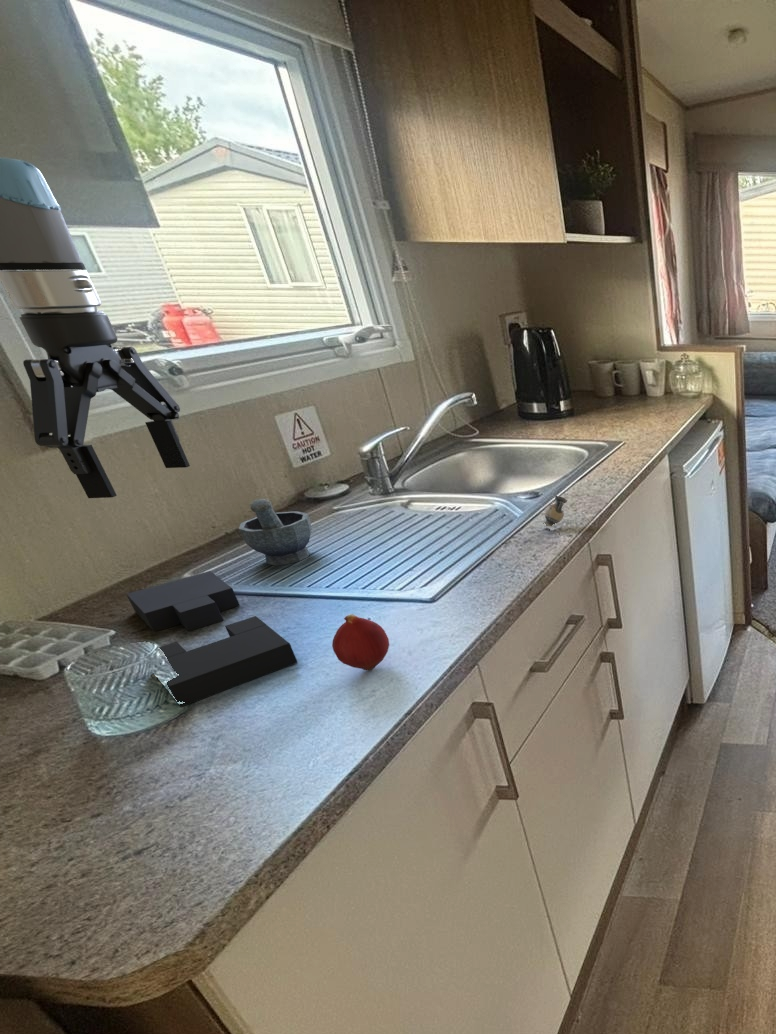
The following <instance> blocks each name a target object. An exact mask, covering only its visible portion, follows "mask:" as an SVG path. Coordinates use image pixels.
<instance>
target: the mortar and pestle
mask: <svg viewBox="0 0 776 1034" xmlns="http://www.w3.org/2000/svg"><path fill="white" fill-rule="evenodd" d="M250 510H251V511H252V512H254V513H255V517H253V518H250V519H248V520H245V521H242V522H241V523H240V525H239V526H238V531H239V533H240V536H241V538H242V539H243V541H244V542H245V544H246V545H247V546H248V547H250V548H251V549H252V550H253V551H255V552H258V553H260V554H262V555H264V556H265V557H264V558H265V563H266V564H267V565H272V566H282V565H283V566H285V565H289V564H294V563H298V562H300V561H302V560H305V559H307V558H308V557H310V551H309V548H307V545H309V543H310V539H311V534H312V530H313V529H312V522H311V518H310V516H309V514H308V513H307V512H302V511H299V510H297V511H295V510H294V511H278V512H275V510H274V509H273V504H272V502H271V501H270V500H268V499H266V498H257V499H255V500H253V501H252V502H251V503H250Z"/></svg>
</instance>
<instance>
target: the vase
mask: <svg viewBox="0 0 776 1034" xmlns="http://www.w3.org/2000/svg"><path fill="white" fill-rule="evenodd" d="M554 499H555V502H554V503H553V504H549V505H548V506H547V507H546V508H545V511H544V517H545V521H544V522H543V523H542V524H544V523H545V524H546V526H552V525H553V524H554V525H556V524H558V523H560V522H562V520H563V518H564V516H565V512H564V511H565V510H564V509H563V506H564V504H566V503H567V502H568V499H567V498H566V497H565V498H564V497H563V496H558V495H555V496H554ZM541 503H542V502H541ZM537 516H540V515H537ZM555 523H556V524H555ZM551 532H553V531H551ZM551 532H550V533H551Z"/></svg>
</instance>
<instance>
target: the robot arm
mask: <svg viewBox="0 0 776 1034" xmlns="http://www.w3.org/2000/svg"><path fill="white" fill-rule="evenodd" d="M0 283H1V285H2V287H3V289H4V291H5V293H6V295H7V297H8V298H9V301H10V303H11V305H12V307H14V308H15V309H18V310H22V312H23V313H21V314H20V316H19V317H18V318H19V320H20V322H21V324H22V326H23V328H24V330H25V332H26V334H27V336H28V337H29V340H30V341H31V343H32V345H34V346H35V347H37V348H42V350H44V351H45V352H46V356H47V358H41V359H39V358H38V359H31V358H30V359H24V360H23V362H22V364H23V368H24V370H25V372H26V374H27V377H28V379H29V383H30V398H31V409H32V411H31V412H32V421H33V433H34V442H35V443H36V445H37V446H39V447H47V448H49V449H58V450H59V452H60V453H61V455H62V457H63V458H64V460H65V463H66V465H67V467H68V469H69V470H70V471H71V472H72V474H74V475H76V477H77V479H78V482H79V483H80V485H81V487H82V489H83V491H84V493H85V495H86V497H87V498H88V499H109V498H114V497H117V496H118V495H117V493H116V491H115V488H114V487H113V485H112V483H111V481H110V479H109V477H108V475H107V472H106V471H105V469H104V467H103V465H102V463H101V461H100V459H99V457H98V455H97V452H96V451H95V448H94V447H93V445H92V444H84V442H85V436H86V431H87V424H88V418H89V412H90V406H91V400H92V398H94V397H95V396H96V395H97V393H100V392H104V391H105V390H111V391H112V392H114V393H116V394H117V395H118V396H119V397H120V398H122V399H123V400H124V401H126V402H127V403H129V405H131V407H133V408H135V409H136V410H138V411H139V412H140V413H141V414H142V415H143V416H145V417H147V418H148V419H150V420H149V421H145V422H144V423H145V425H146V428H147V430H148V432H149V434H150V436H151V439H152V441H153V443H154V445H155V447H156V450H157V452H158V454H159V456H160V458H161V460H162V463H163V465H164V468H165V469H177V468H178V469H179V468H184V469H185V468H189V467H190V466H191V465H190V462H189V460H188V458H187V456H186V453H185V451H184V448H183V446H182V444H181V442H180V437H179V434H178V432H177V430H176V428H175V425H174V423H173V420H179V419H180V414H179V413H180V411H181V407H180V405H179V404H178V402H176V400H175V399H174V398H173V397H172V396H171V395H170V394H169V392H168V391H167V390H166V389H165V388H164V386H163V385H162V384H161V383H160V381H158V379H157V378H156V377H155V376H154V374H153V373H152V372H151V371H150V370H149V368H148V367H147V366H146V365H145V364H144V363H143V361H142V359H141V357H140V355H139V354H138V351H137V349H136V348H135V347H133V346H112V345H113V344H116V343H117V342H118V336H117V334H116V332H115V329H114V327H113V325H112V322H111V320H110V318H109V316H108V314H107V313H105V312H104V311H102V310H98V308H97V307H100V306H101V305H102V302H101V298H100V297H99V295H98V292H97V290H96V289H95V286H94V284H93V282H92V279H91V278H90V275H89V273H88V271H87V269H86V266H85V263H83V260H82V258H81V256H80V253H79V251H78V249H77V246H76V244H75V242H74V240H73V237H72V234H71V232H70V230H69V228H68V225H67V223H66V221H65V218H64V216H63V213H62V207H61V205H60V204H58V201H57V199H56V198H55V196H54V195H53V192H52V190H51V188H50V186H49V184H48V182H47V181H46V179H45V177H44V175H43V173H42V172H41V171H40V169H38V168H37V166H36V165H34V164H32V163H30V162H29V161H27V160H23V159H17V158H11V157H3V156H0Z"/></svg>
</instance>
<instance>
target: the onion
mask: <svg viewBox="0 0 776 1034" xmlns="http://www.w3.org/2000/svg"><path fill="white" fill-rule="evenodd" d="M343 619H344V623H342V624H341V625H340V626H339V627H338V629H337V630H336V632H335V634H334V636H333V638H332V643H331V644H332V645H331V646H332V650H333V651H332V652H333V653H334V654H335V656H336V658H337V659H338V661H339V662H341V663H342V664H344V665H346V666H348V667H351V668H356V669H361V670H363V671H372V670H373V669H375V668H376V667H377V666H378V665H379V664H380V663H381V662H382V661H383V660H384V659H385V657H386V656H387V654H388V651H389V648H390V639H389V637H388V635H387V633H386V631H385V630H384V628H383V627H382V626H381V625H380V624H378V623H377V622H375V621H373V620H371V619H367V618H364V617H359V616H357V615H356V614H355V615H354V614H347V615H346V616H345V617H343Z"/></svg>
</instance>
